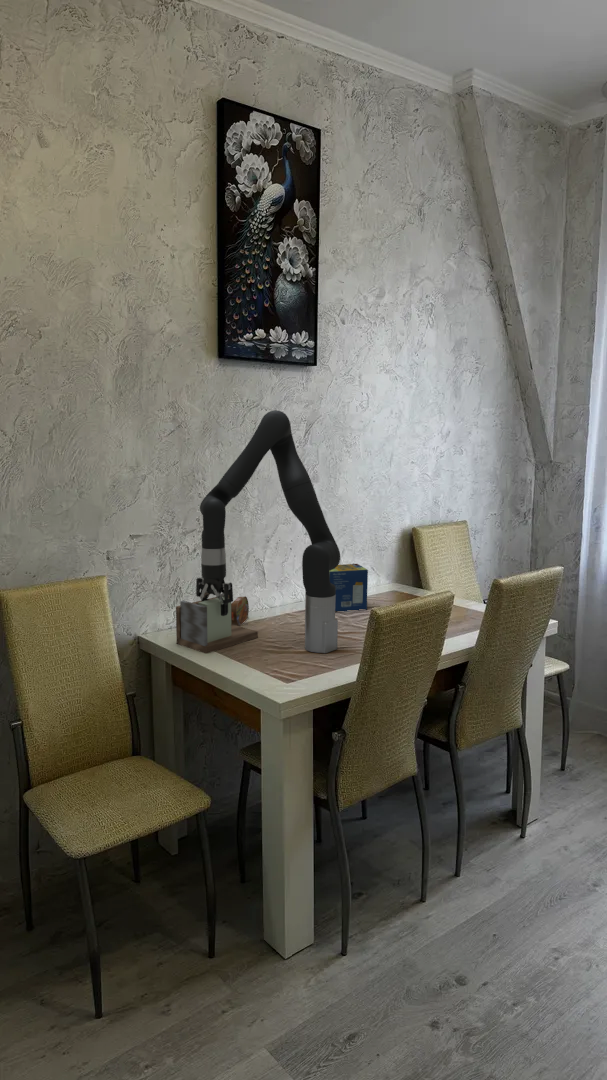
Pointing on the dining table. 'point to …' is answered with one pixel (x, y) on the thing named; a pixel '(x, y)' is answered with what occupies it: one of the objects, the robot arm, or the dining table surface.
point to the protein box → (350, 586)
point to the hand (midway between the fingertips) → (214, 613)
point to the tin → (239, 610)
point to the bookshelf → (204, 629)
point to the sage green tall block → (217, 620)
